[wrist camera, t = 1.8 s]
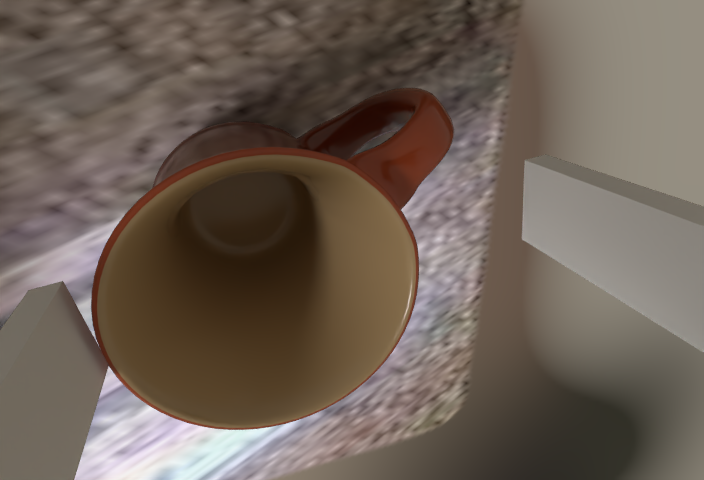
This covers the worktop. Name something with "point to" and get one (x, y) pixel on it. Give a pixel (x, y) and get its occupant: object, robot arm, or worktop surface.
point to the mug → (269, 264)
